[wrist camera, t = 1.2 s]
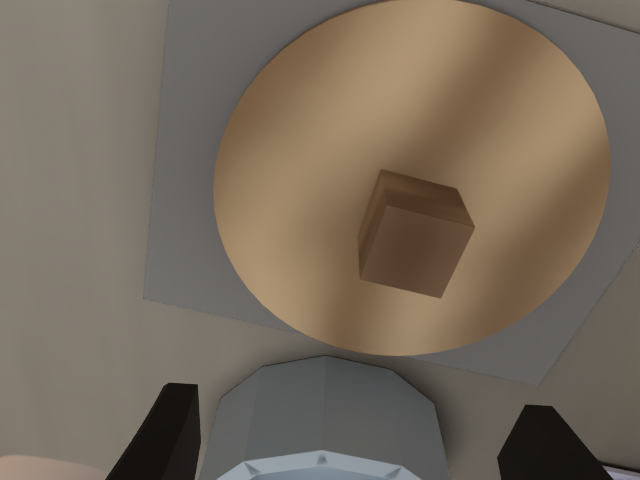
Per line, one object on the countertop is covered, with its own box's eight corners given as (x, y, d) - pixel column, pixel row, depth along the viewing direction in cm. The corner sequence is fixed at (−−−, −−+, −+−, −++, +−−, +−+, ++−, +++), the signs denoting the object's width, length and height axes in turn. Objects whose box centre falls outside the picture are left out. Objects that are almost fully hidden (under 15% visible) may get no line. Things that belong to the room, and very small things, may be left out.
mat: (748, 67, 17) (758, 69, 17) (534, 378, 25) (538, 386, 25) (182, -103, 15) (178, -105, 15) (146, 292, 23) (143, 298, 23)
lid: (682, 65, 17) (770, 94, 13) (496, 368, 24) (521, 437, 21) (255, -62, 15) (230, -65, 12) (197, 302, 23) (171, 364, 20)
